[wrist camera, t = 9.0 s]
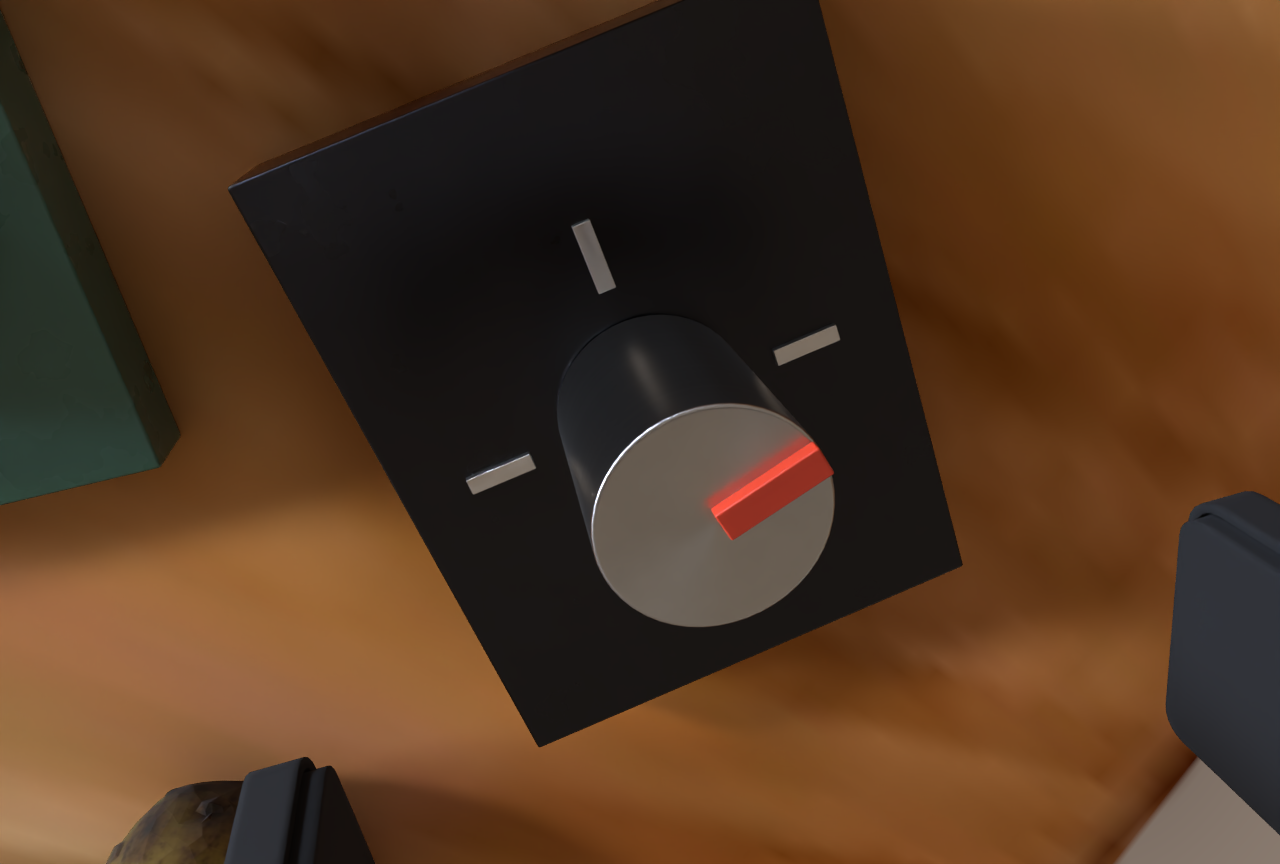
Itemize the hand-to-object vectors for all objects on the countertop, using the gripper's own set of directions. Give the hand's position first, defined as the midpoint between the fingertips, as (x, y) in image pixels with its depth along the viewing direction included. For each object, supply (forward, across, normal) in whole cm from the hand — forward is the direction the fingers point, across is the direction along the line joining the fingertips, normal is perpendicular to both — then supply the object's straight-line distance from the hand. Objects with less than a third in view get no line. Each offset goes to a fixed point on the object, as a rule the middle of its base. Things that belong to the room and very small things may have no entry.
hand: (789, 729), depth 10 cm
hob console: (+13, -1, +1) cm, 13 cm away
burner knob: (+10, -1, +1) cm, 10 cm away
